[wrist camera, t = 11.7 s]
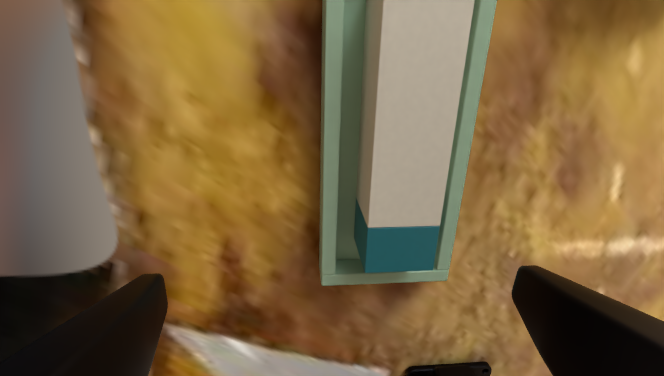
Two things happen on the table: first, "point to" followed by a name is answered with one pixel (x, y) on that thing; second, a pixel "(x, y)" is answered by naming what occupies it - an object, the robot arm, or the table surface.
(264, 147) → the table surface
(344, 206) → the pen tray
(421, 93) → the beige and teal block
